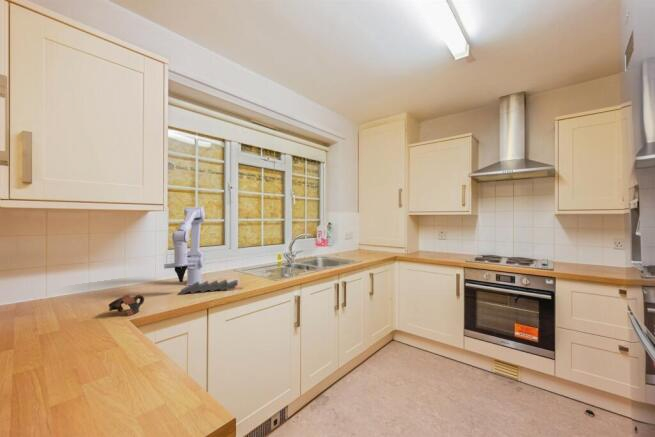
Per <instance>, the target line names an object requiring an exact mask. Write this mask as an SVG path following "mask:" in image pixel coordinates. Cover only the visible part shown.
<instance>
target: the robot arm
mask: <svg viewBox="0 0 655 437" xmlns="http://www.w3.org/2000/svg"><path fill="white" fill-rule="evenodd" d="M183 214H184V220H183V221H181V222H180V223H179V226H178V227H177V229H176V230H175V231H173V232H172V236H171V239H172V245H173V246H174V249H173V250H174V252H173V254H174V255H173V256H174V257H173V258H174V261H173V262H174V263H173V262H172V263H165V264H163V268H164V269H174V272H175V273H176V275H177V277H178V282H179V283H183V282H184V278H185V273H186V271H187V274H186V275H187V282H186V284H185V285H186V286H190V285H192V284H194V283H196V282H198V281H199V283H200V284H202V283H203V279H202V268H203V267H204V265H205V254H204V253H203V252H202V251H200V244H201V243H200V242H201V230H202V228H201V227H202V226H201V225H202V223H204V222H205V217H206V211H205V208H204V206H185V208H184V210H183ZM190 231H191V234H190ZM189 239H190V240H189ZM189 241H190V244H189V245H190V246H189V247H190V248H189V251H188V242H189Z"/></svg>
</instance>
